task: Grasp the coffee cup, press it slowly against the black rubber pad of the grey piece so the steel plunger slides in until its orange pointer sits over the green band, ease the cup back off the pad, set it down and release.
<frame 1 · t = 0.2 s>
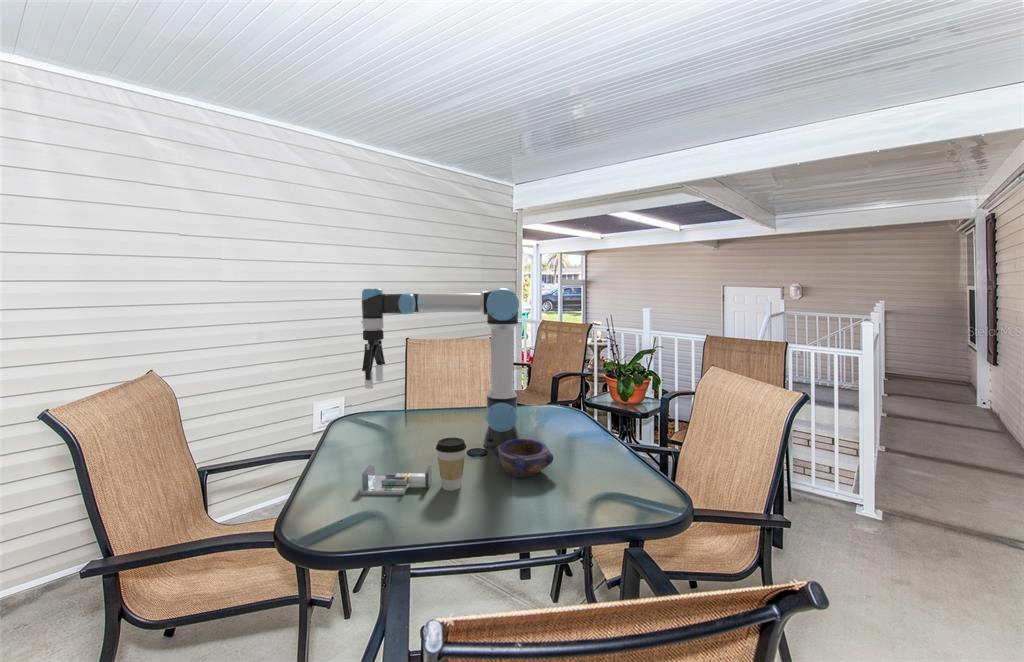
hand: (374, 384, 176), 28 cm above the table, fingers open, 13 cm apart
plunger: (412, 478, 149), point 3 cm above the table, slide at 0.0 cm
coffee cup: (451, 486, 150), on the table
bowl: (523, 473, 161), on the table
grey piece: (396, 486, 150), on the table
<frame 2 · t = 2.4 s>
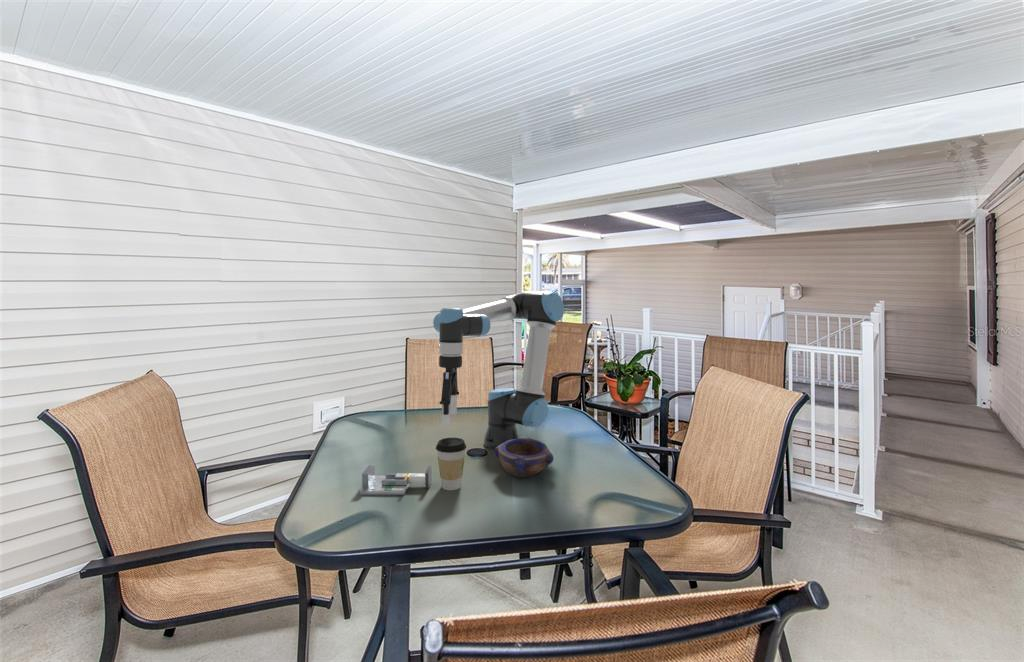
hand: (449, 419, 152), 21 cm above the table, fingers open, 13 cm apart
nothing on the table moved.
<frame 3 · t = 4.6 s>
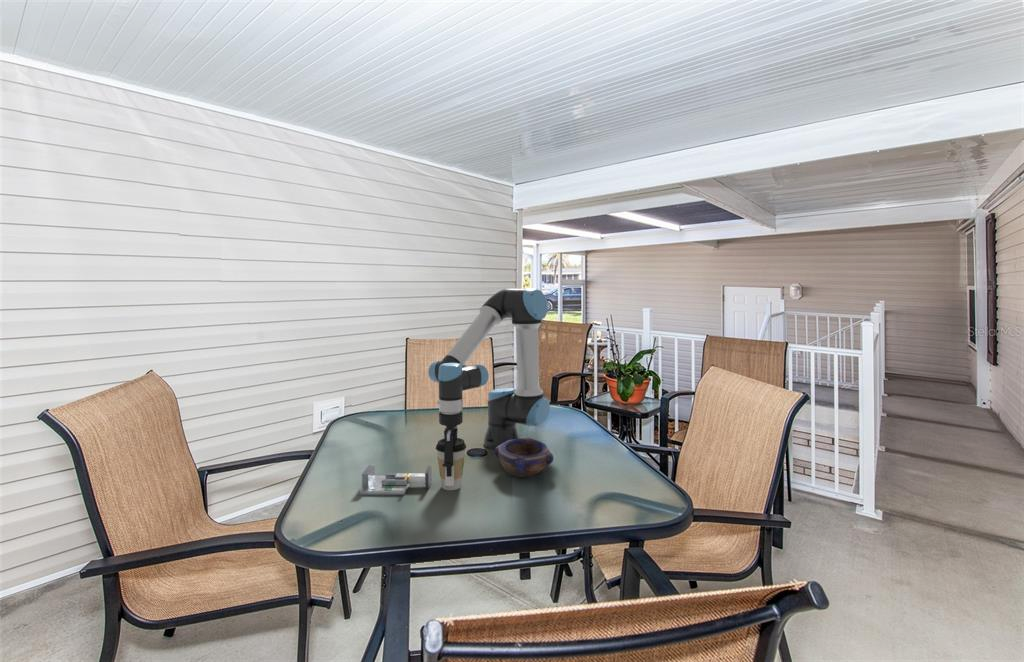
hand: (451, 479, 150), 2 cm above the table, fingers closed on coffee cup, 9 cm apart
coffee cup: (451, 486, 150), on the table, touching gripper
everything else where it was.
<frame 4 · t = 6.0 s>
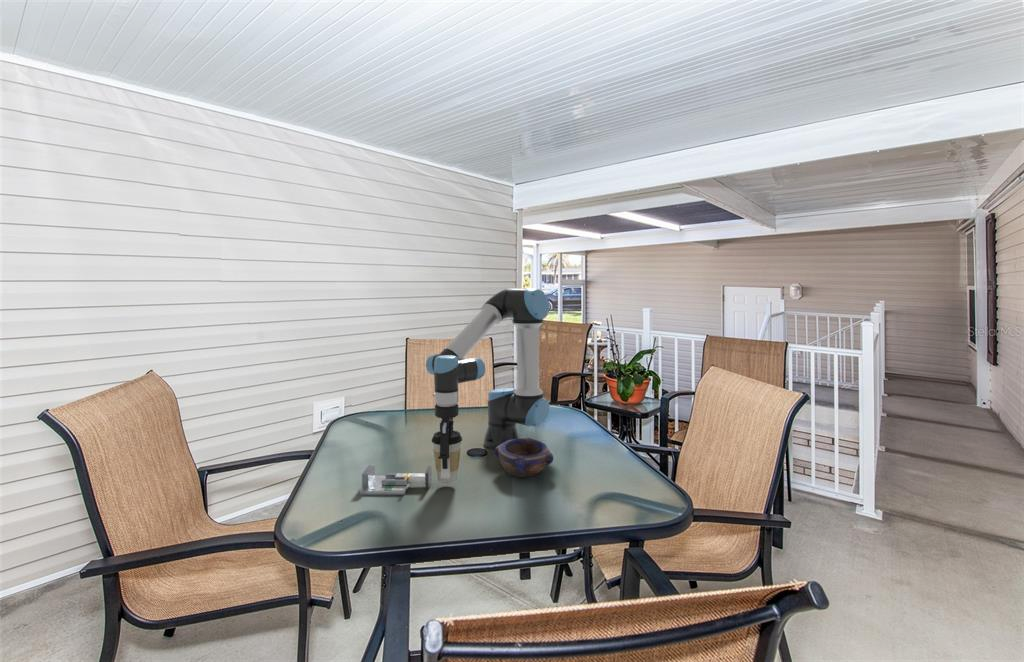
hand: (447, 471, 150), 5 cm above the table, fingers closed on coffee cup, 9 cm apart
coffee cup: (447, 479, 150), point 2 cm above the table, touching gripper
everything else where it was.
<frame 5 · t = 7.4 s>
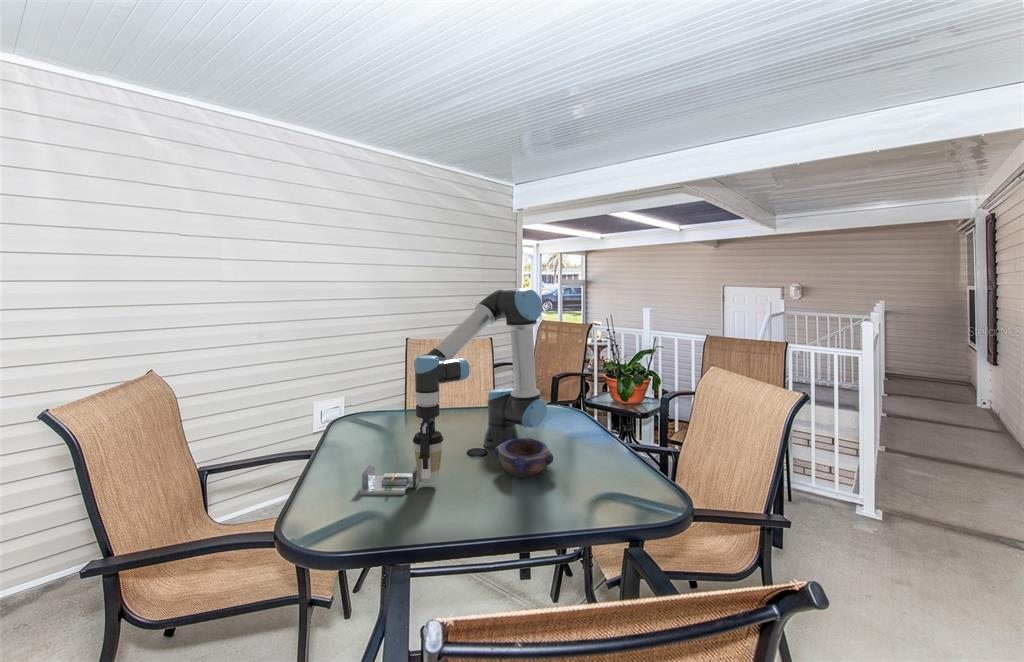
hand: (428, 471, 150), 5 cm above the table, fingers closed on coffee cup, 9 cm apart
plunger: (399, 478, 149), point 3 cm above the table, slide at 4.1 cm, touching coffee cup
coffee cup: (428, 479, 150), point 2 cm above the table, touching gripper, plunger
everything else where it was.
when the fingers open (3 cm above the table, at t = 9.1 s): coffee cup stays where it is, on the table.
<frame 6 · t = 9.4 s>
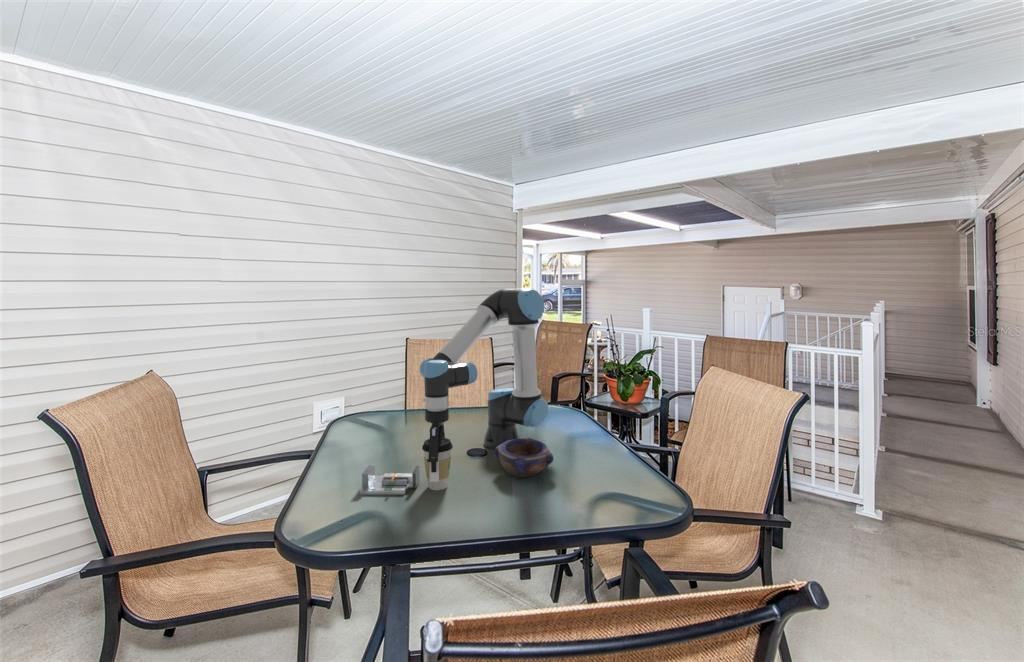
hand: (437, 472, 150), 5 cm above the table, fingers open, 12 cm apart
plunger: (399, 478, 149), point 3 cm above the table, slide at 4.1 cm
coffee cup: (438, 486, 150), on the table
everything else where it was.
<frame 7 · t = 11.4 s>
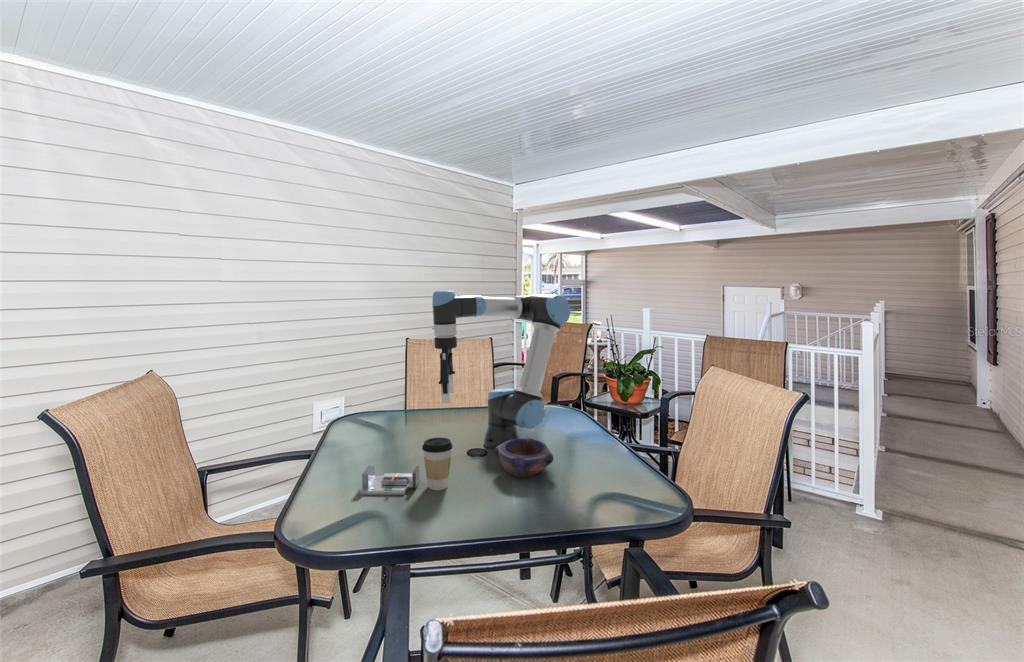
hand: (448, 397, 158), 27 cm above the table, fingers open, 13 cm apart
nothing on the table moved.
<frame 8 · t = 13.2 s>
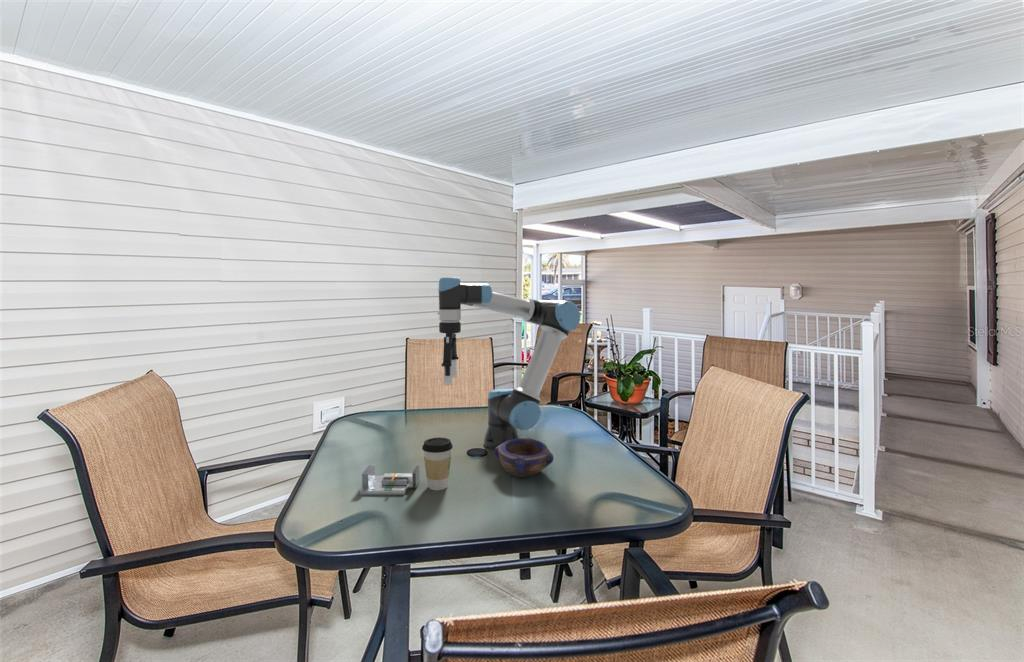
hand: (450, 381, 163), 32 cm above the table, fingers open, 13 cm apart
nothing on the table moved.
at the end: plunger slide at 4.1 cm; coffee cup tilted 0°; the gripper is holding nothing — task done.
